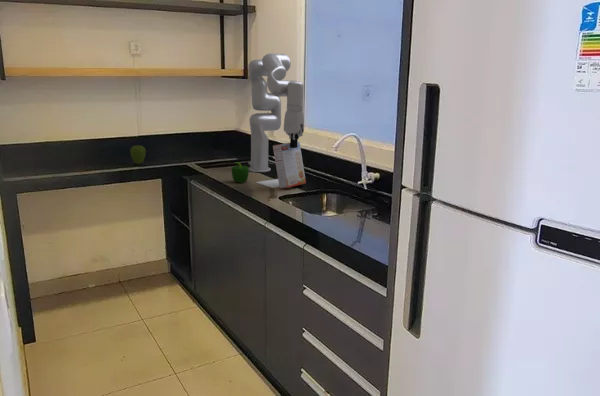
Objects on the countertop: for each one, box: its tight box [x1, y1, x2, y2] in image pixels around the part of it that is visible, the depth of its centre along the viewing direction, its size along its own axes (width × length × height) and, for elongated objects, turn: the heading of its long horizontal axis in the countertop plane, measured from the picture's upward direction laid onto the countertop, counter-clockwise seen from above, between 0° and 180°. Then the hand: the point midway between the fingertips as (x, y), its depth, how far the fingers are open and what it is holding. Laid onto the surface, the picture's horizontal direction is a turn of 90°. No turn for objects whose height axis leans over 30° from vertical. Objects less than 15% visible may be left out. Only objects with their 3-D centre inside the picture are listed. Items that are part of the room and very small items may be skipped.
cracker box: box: [272, 141, 307, 190], centre depth 246 cm, size 14×6×21 cm, turn 141°
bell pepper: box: [231, 161, 250, 184], centre depth 255 cm, size 8×8×10 cm
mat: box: [255, 178, 280, 189], centre depth 255 cm, size 14×18×1 cm
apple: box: [129, 144, 147, 165], centre depth 291 cm, size 9×8×12 cm
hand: (293, 147), depth 243 cm, fingers closed
